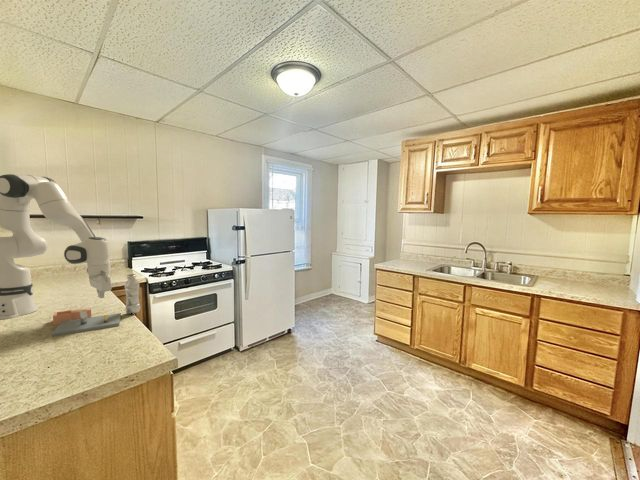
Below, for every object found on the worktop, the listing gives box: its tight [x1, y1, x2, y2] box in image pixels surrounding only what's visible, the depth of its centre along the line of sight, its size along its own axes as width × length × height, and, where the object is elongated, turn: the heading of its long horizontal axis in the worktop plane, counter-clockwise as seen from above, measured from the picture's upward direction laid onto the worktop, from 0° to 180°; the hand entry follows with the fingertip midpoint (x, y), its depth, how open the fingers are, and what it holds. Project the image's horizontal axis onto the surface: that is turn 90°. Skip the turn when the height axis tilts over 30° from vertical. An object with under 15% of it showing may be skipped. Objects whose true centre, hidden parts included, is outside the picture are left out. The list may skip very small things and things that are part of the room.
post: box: [80, 310, 109, 325], centre depth 123 cm, size 10×2×6 cm, turn 104°
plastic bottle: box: [124, 273, 141, 315], centre depth 140 cm, size 6×7×20 cm
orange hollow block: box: [52, 307, 92, 326], centre depth 131 cm, size 13×7×4 cm, turn 130°
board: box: [52, 312, 122, 337], centre depth 124 cm, size 22×15×2 cm
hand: (101, 297), depth 135 cm, fingers closed
